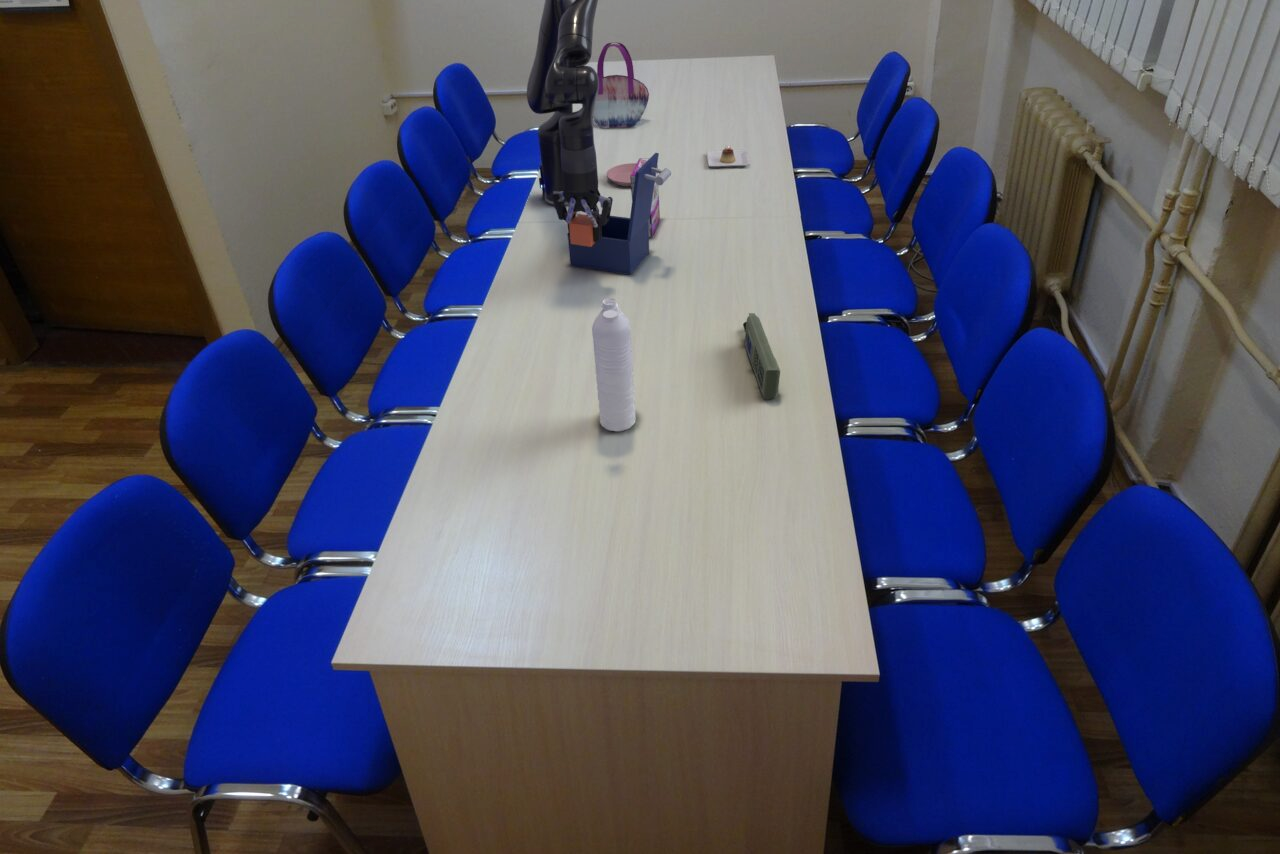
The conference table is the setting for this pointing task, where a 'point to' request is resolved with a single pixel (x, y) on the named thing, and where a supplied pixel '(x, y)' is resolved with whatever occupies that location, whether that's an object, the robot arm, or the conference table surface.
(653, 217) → the candy bar box
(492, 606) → the conference table surface
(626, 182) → the plate
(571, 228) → the cube
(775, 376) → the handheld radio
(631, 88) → the handbag
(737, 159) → the dessert
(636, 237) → the case
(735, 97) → the conference table surface
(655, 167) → the case lid
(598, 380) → the water bottle
